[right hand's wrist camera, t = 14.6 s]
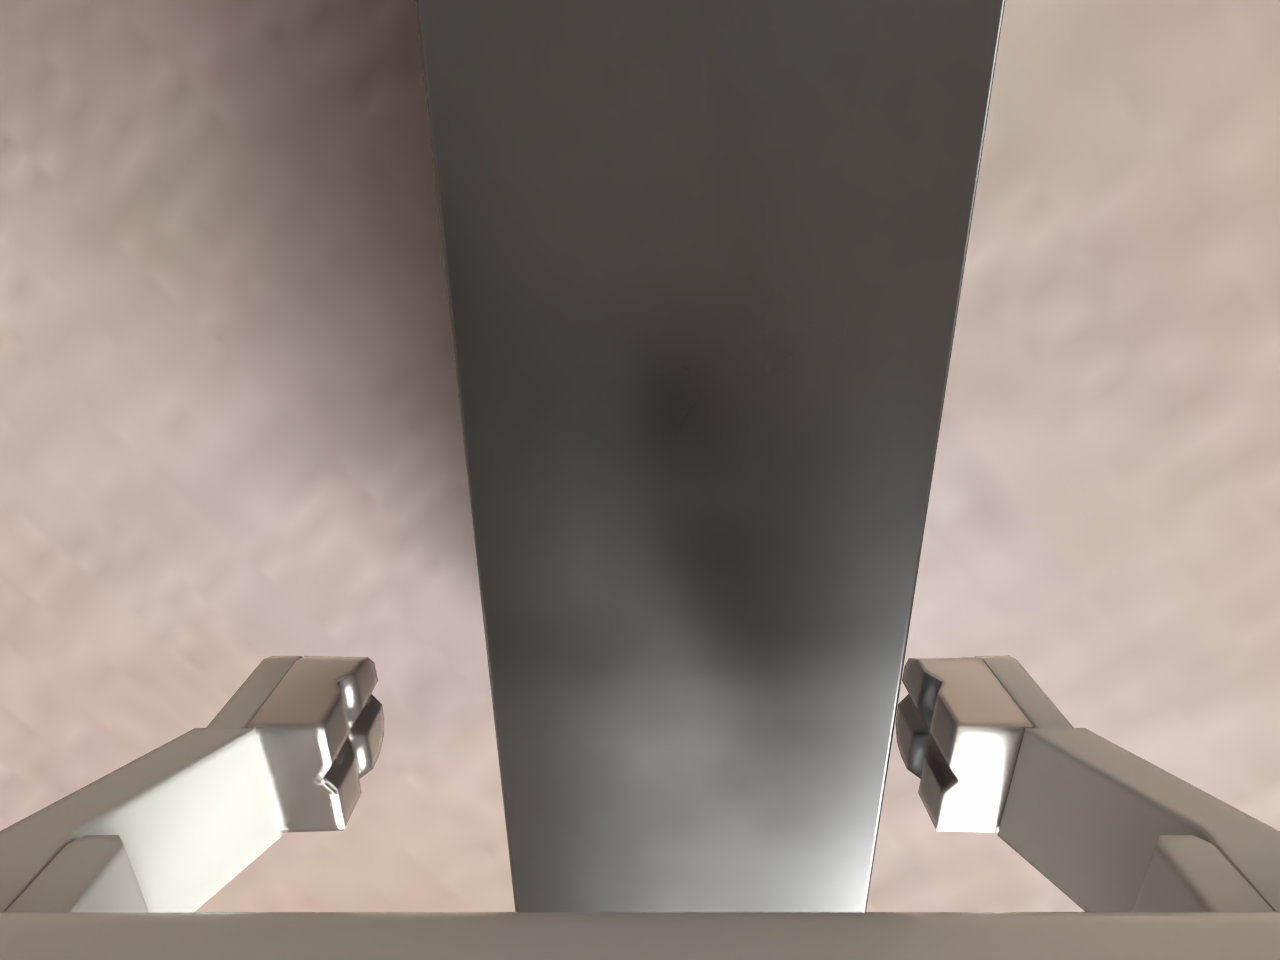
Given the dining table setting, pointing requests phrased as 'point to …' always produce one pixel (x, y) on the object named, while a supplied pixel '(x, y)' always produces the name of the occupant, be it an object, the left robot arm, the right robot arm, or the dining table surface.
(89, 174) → the dining table surface
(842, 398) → the bar
